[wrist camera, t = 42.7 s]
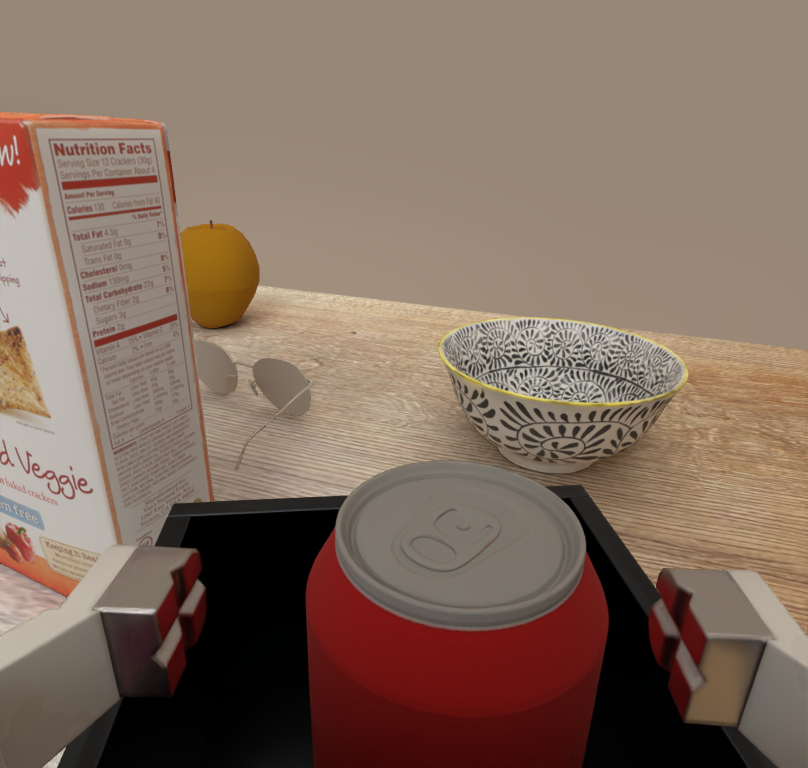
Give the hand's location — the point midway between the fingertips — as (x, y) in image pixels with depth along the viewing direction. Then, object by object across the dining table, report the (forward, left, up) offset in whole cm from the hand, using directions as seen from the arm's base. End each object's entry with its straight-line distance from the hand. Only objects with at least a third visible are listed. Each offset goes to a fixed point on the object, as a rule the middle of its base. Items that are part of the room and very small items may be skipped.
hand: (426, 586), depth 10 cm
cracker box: (+18, +15, -13) cm, 27 cm away
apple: (+59, +15, -13) cm, 62 cm away
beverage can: (+2, -1, -12) cm, 13 cm away
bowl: (+27, -13, -13) cm, 33 cm away
